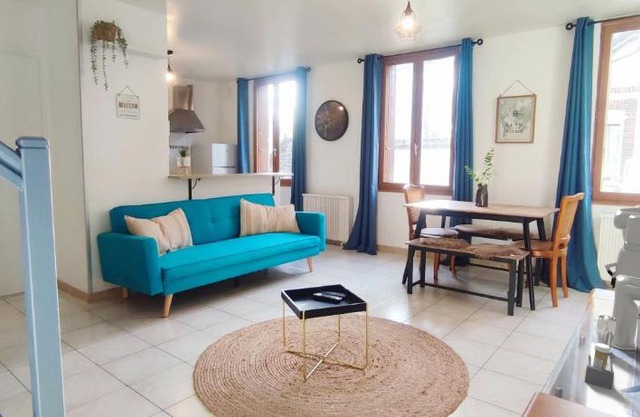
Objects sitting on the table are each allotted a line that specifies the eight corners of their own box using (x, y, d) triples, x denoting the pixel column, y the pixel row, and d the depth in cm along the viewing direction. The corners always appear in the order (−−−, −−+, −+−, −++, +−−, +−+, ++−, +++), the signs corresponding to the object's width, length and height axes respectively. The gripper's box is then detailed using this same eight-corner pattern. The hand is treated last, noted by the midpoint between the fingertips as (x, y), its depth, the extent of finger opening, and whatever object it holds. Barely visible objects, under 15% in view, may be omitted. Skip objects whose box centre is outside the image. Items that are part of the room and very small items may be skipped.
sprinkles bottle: (607, 381, 162) (613, 348, 160) (596, 381, 162) (601, 348, 160) (599, 374, 167) (604, 342, 165) (587, 374, 166) (593, 342, 164)
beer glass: (595, 352, 185) (600, 319, 183) (591, 345, 192) (596, 313, 189) (614, 355, 183) (619, 322, 181) (609, 348, 189) (614, 316, 187)
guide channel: (585, 353, 184) (587, 340, 183) (609, 359, 180) (611, 346, 179) (584, 381, 161) (586, 366, 160) (611, 389, 157) (614, 374, 156)
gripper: (662, 249, 162) (654, 292, 165) (608, 242, 171) (601, 282, 174) (665, 253, 156) (657, 297, 159) (608, 245, 165) (602, 287, 168)
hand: (628, 289), depth 167 cm, fingers open, 9 cm apart
